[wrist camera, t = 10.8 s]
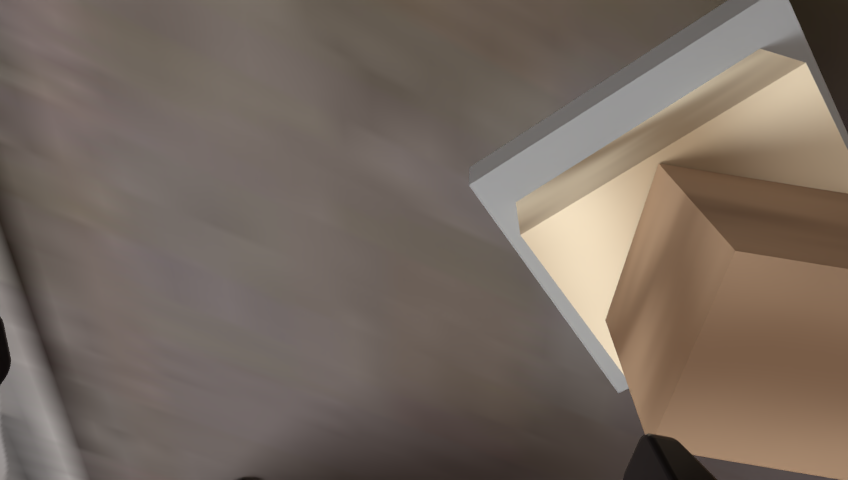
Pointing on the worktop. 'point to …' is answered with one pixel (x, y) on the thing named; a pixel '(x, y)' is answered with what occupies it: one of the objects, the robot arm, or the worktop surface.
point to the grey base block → (632, 122)
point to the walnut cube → (739, 320)
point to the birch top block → (684, 147)
